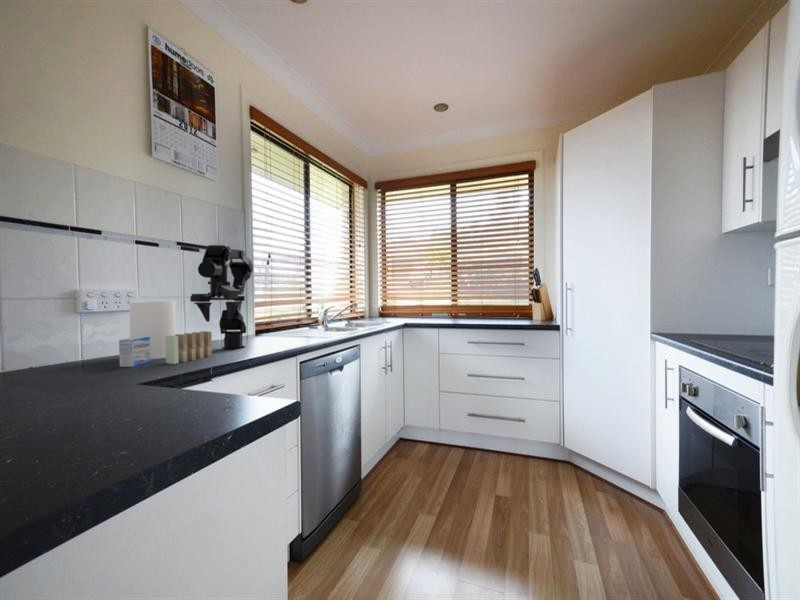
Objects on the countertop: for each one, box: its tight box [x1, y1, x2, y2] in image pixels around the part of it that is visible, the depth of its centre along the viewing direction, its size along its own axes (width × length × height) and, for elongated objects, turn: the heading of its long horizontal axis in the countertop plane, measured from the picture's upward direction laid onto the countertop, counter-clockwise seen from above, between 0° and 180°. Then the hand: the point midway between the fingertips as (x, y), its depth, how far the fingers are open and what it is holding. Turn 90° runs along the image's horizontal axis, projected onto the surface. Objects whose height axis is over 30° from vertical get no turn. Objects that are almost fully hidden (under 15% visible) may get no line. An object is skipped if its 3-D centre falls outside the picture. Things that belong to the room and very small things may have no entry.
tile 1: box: [200, 330, 213, 358], centre depth 129 cm, size 1×4×9 cm, turn 69°
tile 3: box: [183, 332, 197, 361], centre depth 123 cm, size 1×4×9 cm, turn 69°
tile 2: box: [191, 331, 205, 360], centre depth 126 cm, size 1×4×9 cm, turn 69°
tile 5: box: [165, 335, 180, 365], centre depth 117 cm, size 1×4×9 cm, turn 69°
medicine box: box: [118, 336, 152, 368], centre depth 115 cm, size 8×4×9 cm, turn 179°
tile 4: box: [175, 333, 189, 363], centre depth 120 cm, size 1×4×9 cm, turn 69°
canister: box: [129, 300, 177, 360], centre depth 129 cm, size 14×14×20 cm
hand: (219, 320), depth 133 cm, fingers open, 9 cm apart
